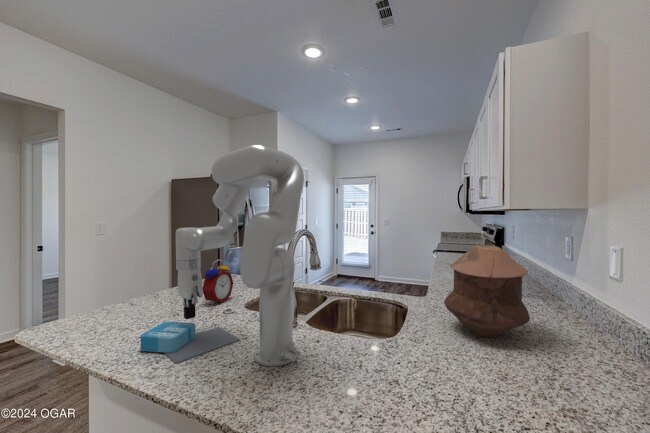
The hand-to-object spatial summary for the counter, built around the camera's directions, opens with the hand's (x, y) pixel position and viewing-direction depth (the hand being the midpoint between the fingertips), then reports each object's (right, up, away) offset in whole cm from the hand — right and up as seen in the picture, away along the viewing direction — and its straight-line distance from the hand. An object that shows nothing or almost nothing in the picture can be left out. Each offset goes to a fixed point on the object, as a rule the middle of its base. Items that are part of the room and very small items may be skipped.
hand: (189, 317), depth 99 cm
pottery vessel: (+101, -6, +2) cm, 102 cm away
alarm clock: (-5, -6, +38) cm, 39 cm away
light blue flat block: (-3, -4, +1) cm, 5 cm away
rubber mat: (+6, -7, -5) cm, 10 cm away
